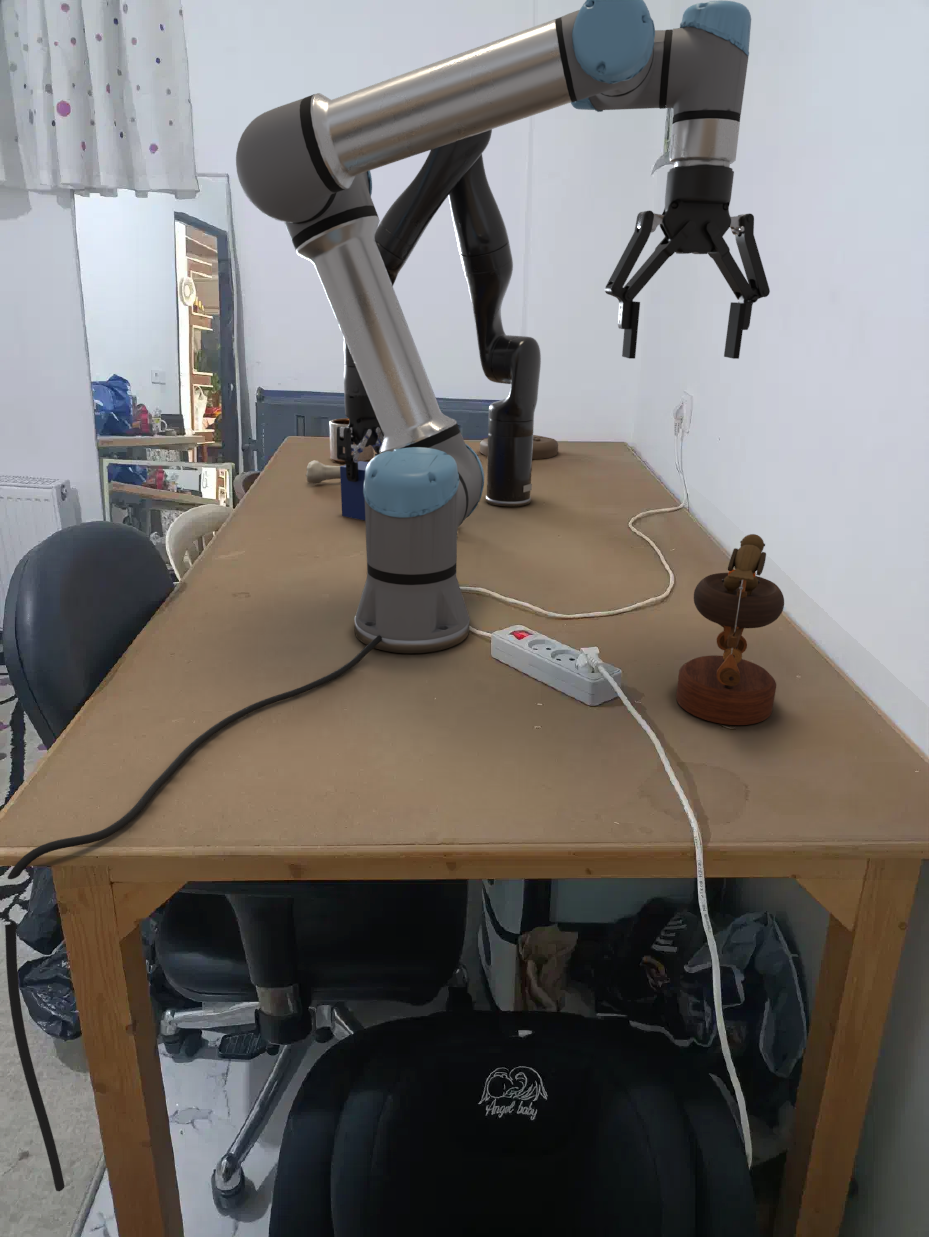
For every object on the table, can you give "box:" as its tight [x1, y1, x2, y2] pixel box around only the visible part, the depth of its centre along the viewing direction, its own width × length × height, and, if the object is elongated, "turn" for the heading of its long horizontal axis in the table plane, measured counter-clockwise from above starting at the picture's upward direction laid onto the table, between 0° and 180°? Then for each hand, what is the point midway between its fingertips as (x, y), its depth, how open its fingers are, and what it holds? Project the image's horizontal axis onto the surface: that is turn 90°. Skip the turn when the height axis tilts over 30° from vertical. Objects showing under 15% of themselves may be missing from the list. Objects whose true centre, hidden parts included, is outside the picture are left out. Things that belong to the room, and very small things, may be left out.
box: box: [339, 461, 370, 522], centre depth 160 cm, size 23×6×10 cm, turn 58°
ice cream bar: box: [479, 434, 559, 460], centre depth 219 cm, size 21×28×4 cm
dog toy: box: [305, 459, 341, 484], centre depth 190 cm, size 20×6×5 cm, turn 99°
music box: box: [675, 533, 785, 726], centre depth 92 cm, size 15×11×20 cm
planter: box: [328, 417, 375, 464], centre depth 212 cm, size 11×11×10 cm
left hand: (680, 358), depth 106 cm, fingers open, 13 cm apart
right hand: (367, 477), depth 163 cm, fingers open, 8 cm apart
